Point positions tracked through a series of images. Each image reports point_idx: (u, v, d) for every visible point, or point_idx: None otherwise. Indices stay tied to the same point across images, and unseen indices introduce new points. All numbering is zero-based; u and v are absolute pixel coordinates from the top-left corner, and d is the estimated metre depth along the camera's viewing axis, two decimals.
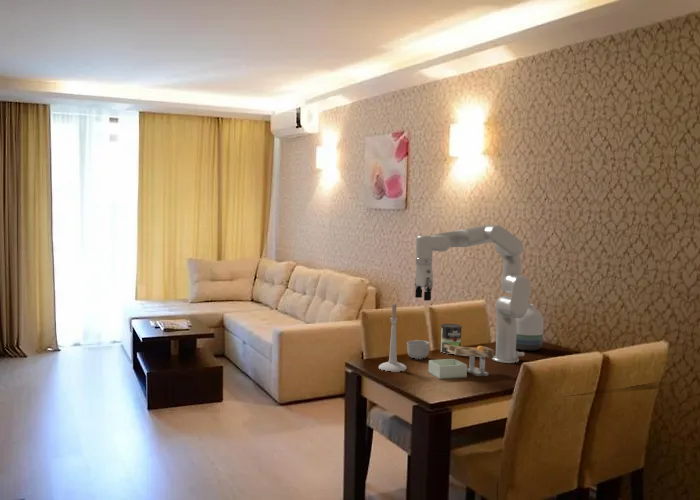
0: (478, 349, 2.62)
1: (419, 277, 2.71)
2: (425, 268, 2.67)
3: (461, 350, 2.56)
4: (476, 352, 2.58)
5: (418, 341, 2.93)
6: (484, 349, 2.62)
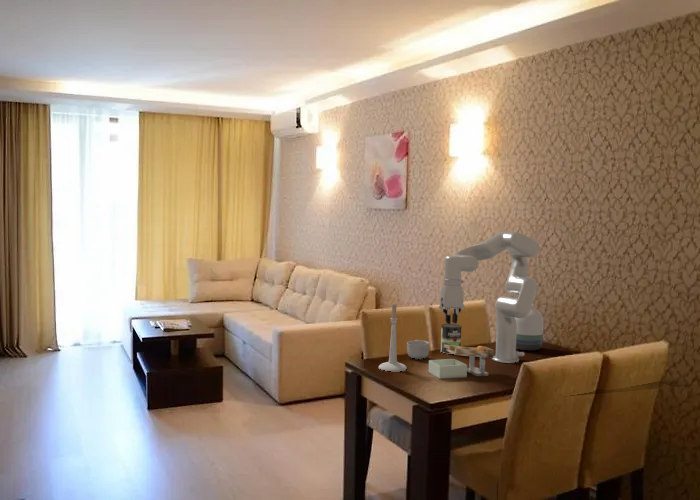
0: (478, 349, 2.62)
1: (456, 299, 2.66)
2: None
3: (461, 350, 2.56)
4: (476, 352, 2.58)
5: (418, 341, 2.93)
6: (484, 349, 2.62)
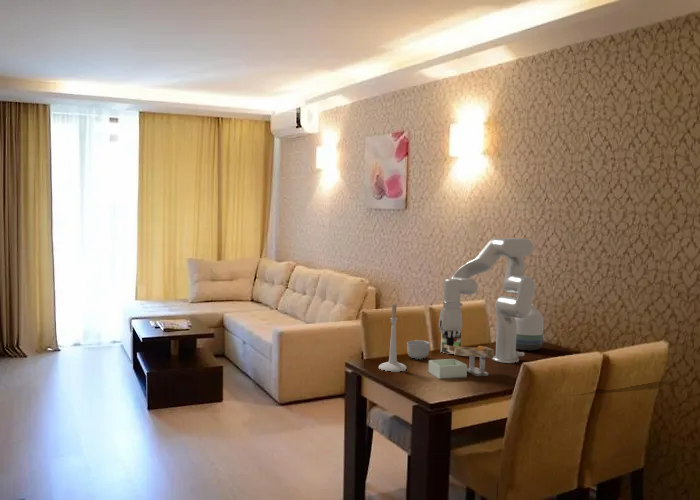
0: (478, 349, 2.62)
1: (455, 322, 2.66)
2: None
3: (461, 350, 2.56)
4: (476, 352, 2.58)
5: (418, 341, 2.93)
6: (484, 349, 2.62)
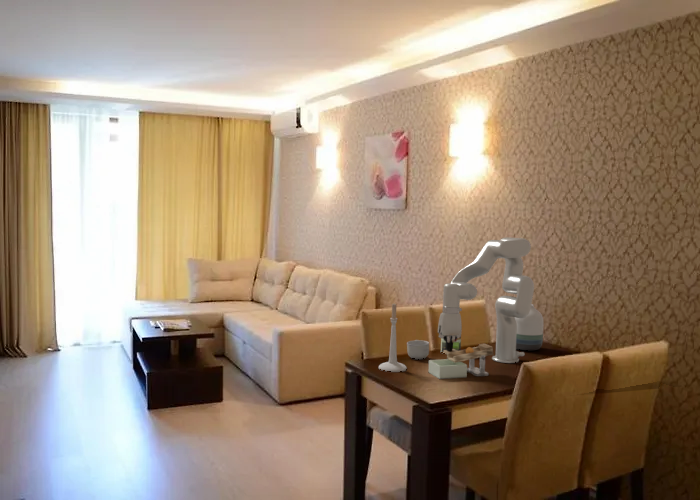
0: None
1: (454, 327, 2.66)
2: (460, 316, 2.68)
3: (460, 356, 2.56)
4: (475, 354, 2.58)
5: (418, 341, 2.93)
6: (467, 351, 2.60)
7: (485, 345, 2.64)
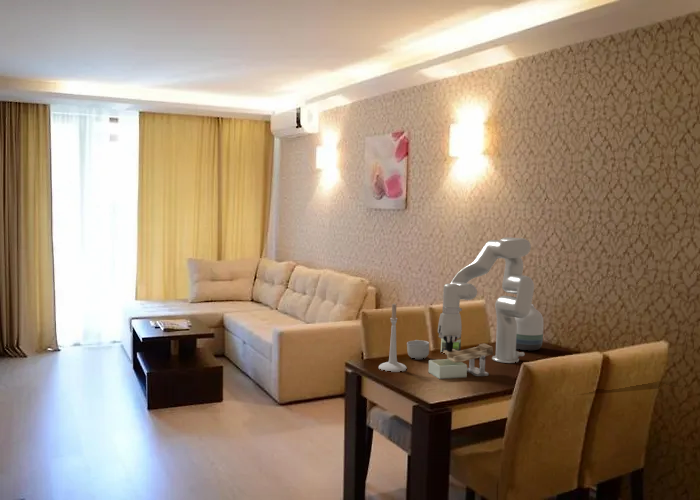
0: None
1: (454, 327, 2.66)
2: (460, 316, 2.68)
3: (460, 356, 2.56)
4: (475, 354, 2.58)
5: (418, 341, 2.93)
6: None
7: (485, 345, 2.64)
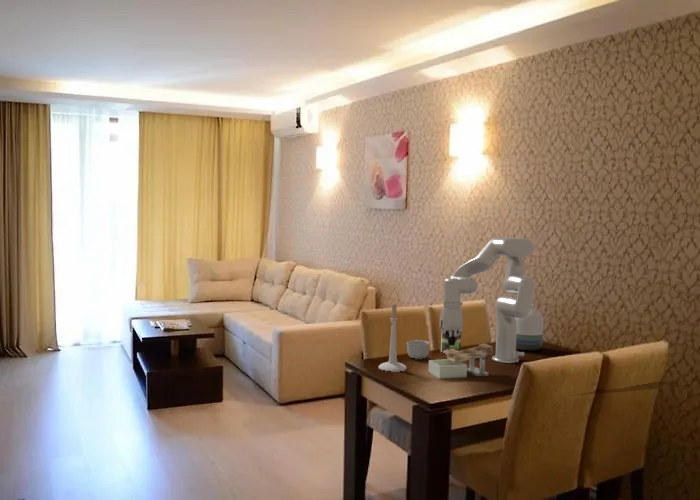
0: None
1: (456, 321, 2.67)
2: (461, 310, 2.68)
3: (460, 356, 2.56)
4: (475, 354, 2.58)
5: (418, 341, 2.93)
6: None
7: (485, 345, 2.64)
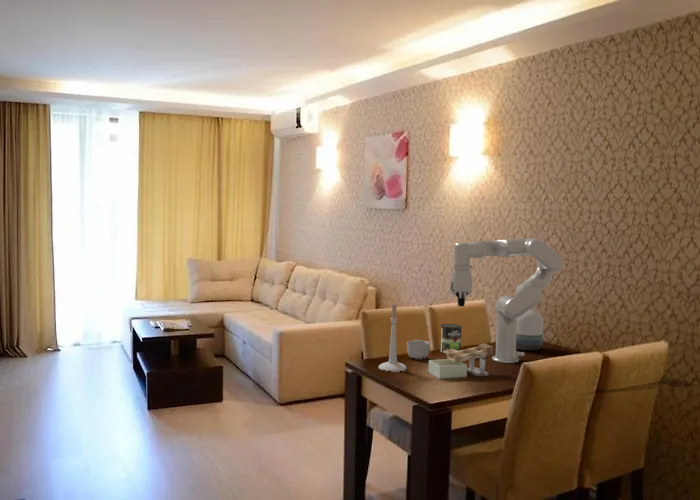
0: None
1: (466, 283, 2.82)
2: None
3: (460, 356, 2.56)
4: (475, 354, 2.58)
5: (418, 341, 2.93)
6: None
7: (485, 345, 2.64)
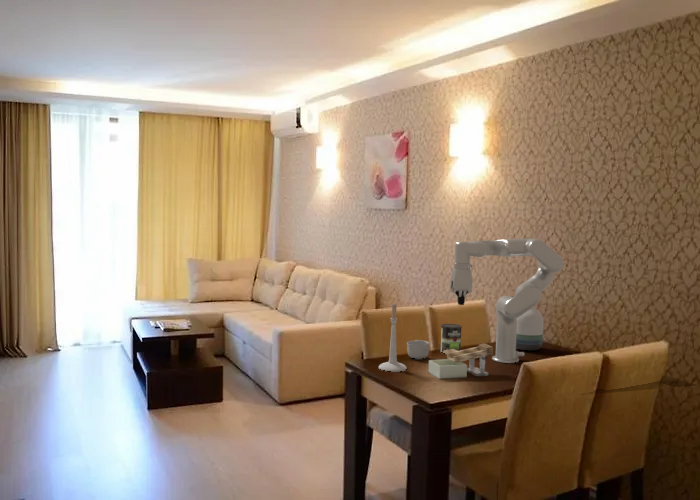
0: None
1: (466, 282, 2.83)
2: None
3: (460, 356, 2.56)
4: (475, 354, 2.58)
5: (418, 341, 2.93)
6: None
7: (485, 345, 2.64)
